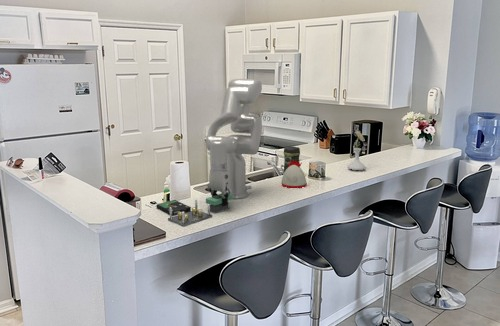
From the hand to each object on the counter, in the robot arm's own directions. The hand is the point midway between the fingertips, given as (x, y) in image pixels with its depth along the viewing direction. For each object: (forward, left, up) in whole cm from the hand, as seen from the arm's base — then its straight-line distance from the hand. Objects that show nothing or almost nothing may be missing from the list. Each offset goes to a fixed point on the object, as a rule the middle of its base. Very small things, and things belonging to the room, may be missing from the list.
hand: (219, 203), depth 204 cm
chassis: (+18, 0, -3) cm, 18 cm away
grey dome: (-57, 0, -3) cm, 57 cm away
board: (0, 0, +1) cm, 1 cm away
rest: (+1, 0, -3) cm, 3 cm away
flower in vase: (-115, +7, -3) cm, 115 cm away
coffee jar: (-72, -13, -3) cm, 73 cm away
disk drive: (+15, -16, -3) cm, 22 cm away
